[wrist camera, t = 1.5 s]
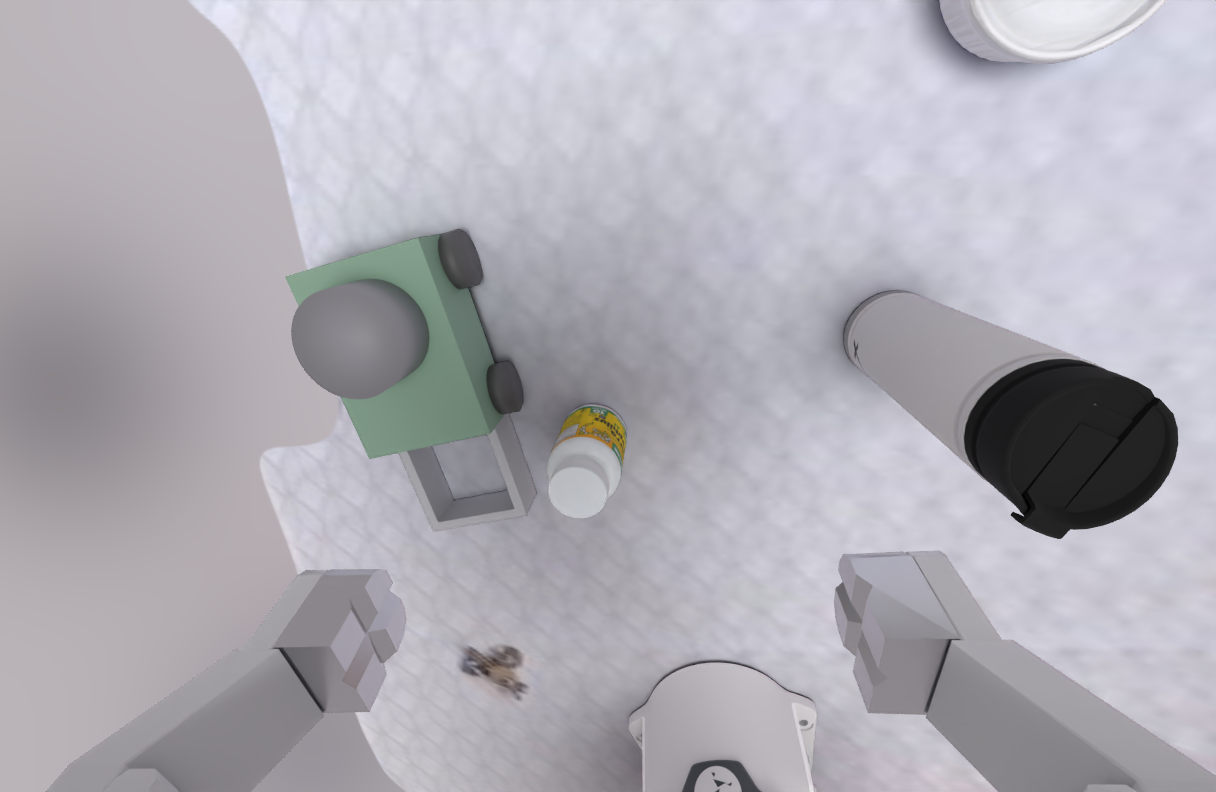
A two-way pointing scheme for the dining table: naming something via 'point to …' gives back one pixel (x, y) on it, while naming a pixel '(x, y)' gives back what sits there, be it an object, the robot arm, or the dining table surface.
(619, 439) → the supplement bottle
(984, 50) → the ramekin
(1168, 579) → the dining table surface
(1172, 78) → the dining table surface
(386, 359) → the green toy truck
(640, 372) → the dining table surface
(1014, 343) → the travel mug
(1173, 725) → the dining table surface
